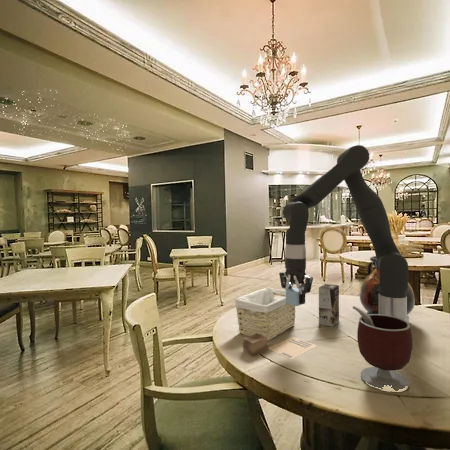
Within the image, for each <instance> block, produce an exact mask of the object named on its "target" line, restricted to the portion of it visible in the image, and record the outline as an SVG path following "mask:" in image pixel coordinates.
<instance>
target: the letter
mask: <svg viewBox="0 0 450 450" xmlns="http://www.w3.org/2000/svg"><path fill="white" fill-rule="evenodd" d="M316 347H317V345H316V344H314V343H310V342H309V341H306V340H302V339H300V338H297V337H294V336H291V337H289V338H287V339H284V340H282V341H280V342H277V343H276V344H274V345H271V346H269V347H267V350H269V351H271V352H273V353H276V354H278V355H281V356H282V357H285V358H287V359H290V360H293V359H295V358H297V357H299V356H301V355H303V354H305V353H307V352H308V351H310V350H312V349H314V348H316Z"/></svg>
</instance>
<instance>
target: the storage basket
mask: <svg viewBox="0 0 450 450" xmlns="http://www.w3.org/2000/svg"><path fill="white" fill-rule="evenodd" d="M275 296H280V297H281V298H280V299H276V298H274V297H275ZM234 302H235V309H236V316H237V323H238V329H239V330H238V331H239V333H240V334H242V335H245V336H246V337H248V336H251V335H254V334H256V333H258V334H260V335H262V336H265V337H267V342H269V341H271V340H272V339H274V338H276V337H278V336H279V335H280V334H282V333H284V332H286V331H287V330H289V329H290V328H292V327H293V326H295V325H296V323H295V321H296V306H294V305H291V304H288V303H286V290H285V289H278V288H272V287H265V288H262V289H259V290H256V291H253V292H251V293H248V294H244V295H241V296H240V297H237V298H235V300H234Z"/></svg>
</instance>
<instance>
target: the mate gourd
mask: <svg viewBox="0 0 450 450" xmlns="http://www.w3.org/2000/svg"><path fill="white" fill-rule="evenodd" d="M352 309H353V310H355V311H356V312H358V313H359V315H360V317H358V319H359V321H358V325H357V338H356V339H357V346H358V350H359V353H360V355H361V356H362V357H363V359H364V361H366V363H367V364H369V365H370V366H369V367H365V368H363V369H362V370H361V372H360V379H361V378H362V379H363V380H364V381H365V382H367V383H368V384H370V385H372V386H374V387H378V388H381V389H383V388H382V387H384V385H386V386H387V385H389V386H391V385H392V387H391V388H393V389H394V390H395V391H398V390H399V389H403V388H405V386H409V387H410V381H409V380H408V379H407V378H406V377H405V376H404V375H403V374H401V373H399V372H398V371H399V370H400V371H401V370H402V369H404V368H405V366H407V365H408V364H409V363H410V360H411V357H412V353H413V334H412V330H411V324H410V322H409V323H408V322H407V321H405V320H403V319H400V318H397V317H394V316H389V315H382V314H367V312H365V311H364V310H363V309H360V308H358V307H357V306H356V305H353V306H352ZM362 379H361V380H362ZM363 380H362V381H363ZM364 381H363V382H364ZM365 382H364V383H365Z"/></svg>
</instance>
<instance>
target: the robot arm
mask: <svg viewBox="0 0 450 450" xmlns="http://www.w3.org/2000/svg"><path fill="white" fill-rule="evenodd" d="M369 161H370V153H369V150H368V149H367V147H366V146H363V145H361V144H356V145H352V146H350V147H348V148H347V149H345V150H344V151H342V152H341V153H340V154H339V155H338V157H337V159H336V164H335V165H334V166H332V168H331V169H329V170H328V171H327V172H325V173H324V174H323V175H322V176H320V177H318V178H317V179H315V181H314V182H313V183H311V184H310V185H309V186H308V187H306V188H305V190H304V191H303V192H301V193H300V194H298V195H297V196H295V197H294V198H292V199H291V200H289V201H288V202H287V203H286V204H285V205H284V207H283V208H282V215H283V218H284V219H285V220H286V221H289V222H290V223H289V227H288V228H287V229H286V231H285V248H284V268H285V271H282V272H279V275H278V276H279V280H280V285H281V288H282V289H283V290H285V291H286V289H290V288H294V285H295V286H296V288H298V290H299V293H300V294H299V304H302V305H305V304H304V302H305V303H306V294H309V293H311V289H312V286H313V285H312V284H313V281H314V277H313V276H309V275H307V273H306V269H307V254H306V253H307V249H306V248H307V247H306V230H307V227H308V222H309V217H310V211H309V209H312V208H314V207H316V206H318V205H319V204H320V203H321V202H322V201H323V200H324V199H326V198H327V197H328V195H330V194H331V193H332V192H333V191H334V190H335V189H336V188H337V187H338V186H339V185H340V184H341V183H343V181H344V182H345V185H346V186H347V188H348V191H349V193H350V196H351V198H352V201H353V203H354V206H355V209H356V211H357V215H358V217H359V220H360V222H361V224H362V227H363V228H364V230H365V231H366V234H367V236H368V238H369V239H370V241H371V244H372V246H373V250H374V253H375V256H376V258H377V262H378V267H379V314H382V315H389V316H394V317H397V318H400V319H403V320H405V321H407V322H408V323H409V324H410V317H409V315H407V290H408V282H409V263H408V261H407V258H405V257H404V256H403V255H402V253H400V250H399V249H398V247H397V244H396V243H395V241H394V239H393V236H392V232H391V226H390V221H389V216H388V213H387V211H386V208H385V205H384V203H383V201H382V199H381V197H380V196H379V195H378V194H377V193H376V192H375V191H374V190H373V189H372V188H371V186H369V185H368V183H367V182H366V180H365V179H364V177H363V174H362V170H361V169H363V168H364V167H366V166H367V164H369Z"/></svg>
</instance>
